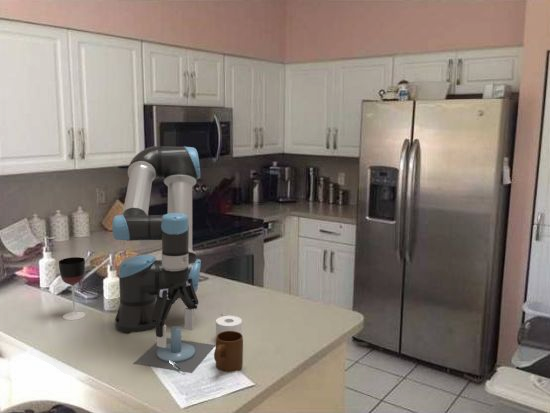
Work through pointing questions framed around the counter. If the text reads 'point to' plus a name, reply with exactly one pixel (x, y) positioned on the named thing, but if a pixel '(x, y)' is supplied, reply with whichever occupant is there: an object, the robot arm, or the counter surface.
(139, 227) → the robot arm
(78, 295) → the counter surface
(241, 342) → the mug
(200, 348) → the mat
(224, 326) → the toilet paper
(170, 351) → the lid
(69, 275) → the wineglass
